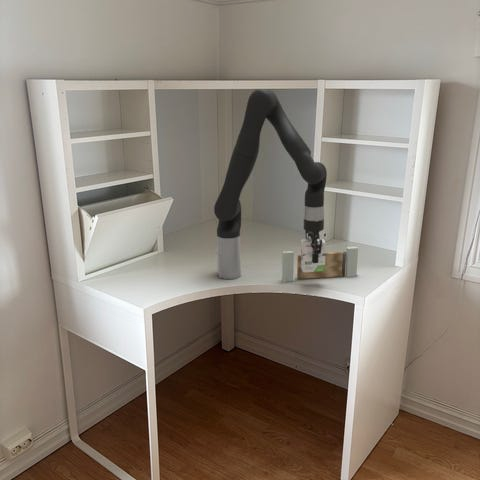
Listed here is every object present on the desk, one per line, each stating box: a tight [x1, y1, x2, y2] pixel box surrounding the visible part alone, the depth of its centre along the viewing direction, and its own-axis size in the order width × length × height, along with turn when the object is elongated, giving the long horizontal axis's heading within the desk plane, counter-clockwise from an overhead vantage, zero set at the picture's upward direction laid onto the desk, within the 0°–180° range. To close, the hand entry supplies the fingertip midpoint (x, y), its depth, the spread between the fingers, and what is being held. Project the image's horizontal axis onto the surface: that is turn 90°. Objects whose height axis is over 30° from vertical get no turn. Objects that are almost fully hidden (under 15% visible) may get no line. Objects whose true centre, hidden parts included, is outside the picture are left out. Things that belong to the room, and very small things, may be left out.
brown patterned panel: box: [296, 251, 346, 280], centre depth 196 cm, size 20×2×10 cm, turn 96°
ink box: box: [300, 238, 327, 272], centre depth 186 cm, size 9×5×12 cm, turn 93°
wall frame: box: [281, 246, 359, 283], centre depth 195 cm, size 30×2×12 cm, turn 99°
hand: (312, 259), depth 187 cm, fingers closed on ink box, 5 cm apart
